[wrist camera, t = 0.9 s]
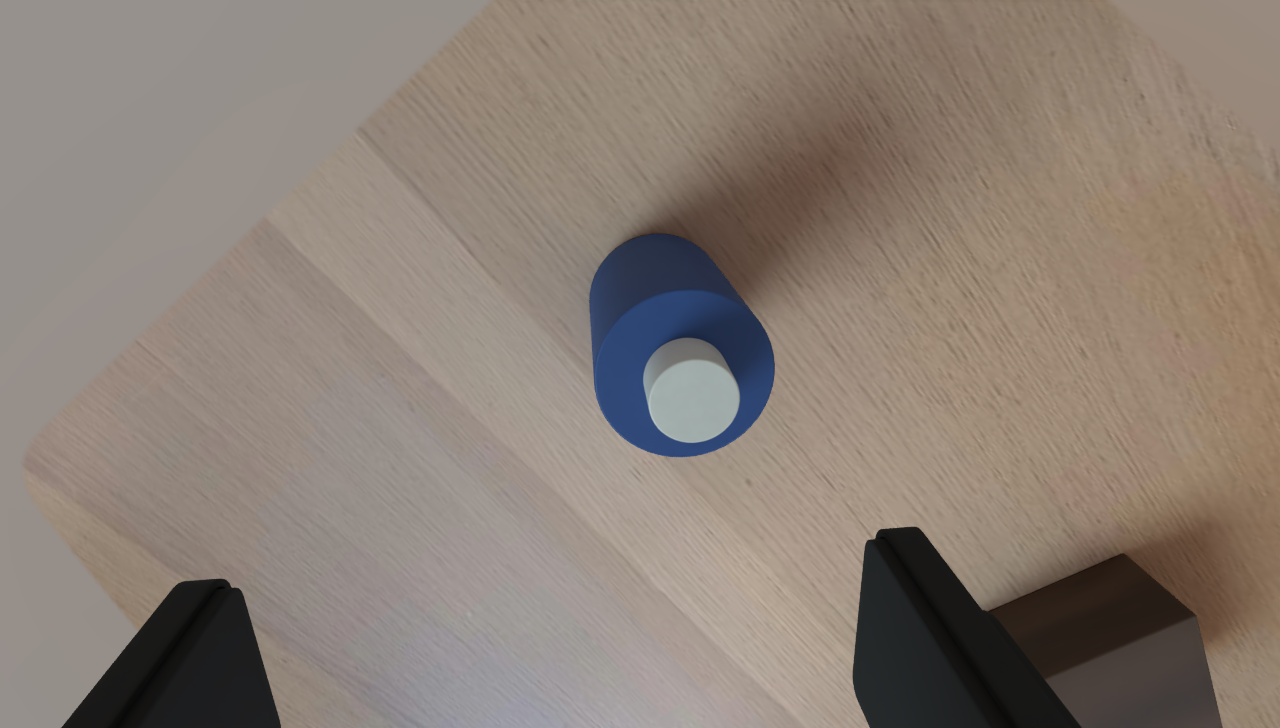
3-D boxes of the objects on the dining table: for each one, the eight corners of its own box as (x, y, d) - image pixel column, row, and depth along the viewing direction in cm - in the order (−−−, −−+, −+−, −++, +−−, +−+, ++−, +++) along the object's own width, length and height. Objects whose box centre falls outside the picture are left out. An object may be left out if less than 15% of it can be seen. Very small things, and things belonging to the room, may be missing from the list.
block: (952, 626, 40) (1001, 697, 36) (1123, 552, 39) (1197, 615, 35) (999, 740, 44) (1049, 818, 39) (1157, 674, 43) (1227, 746, 38)
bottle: (580, 242, 31) (582, 321, 21) (719, 225, 31) (789, 294, 21) (598, 371, 33) (608, 500, 23) (727, 354, 33) (795, 474, 23)
